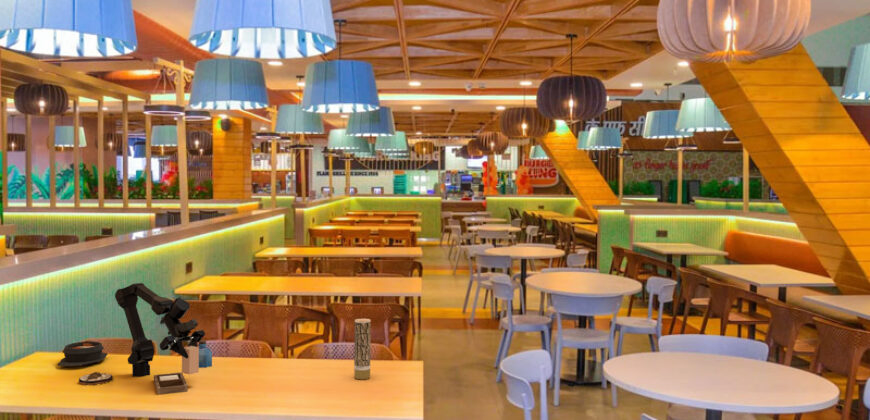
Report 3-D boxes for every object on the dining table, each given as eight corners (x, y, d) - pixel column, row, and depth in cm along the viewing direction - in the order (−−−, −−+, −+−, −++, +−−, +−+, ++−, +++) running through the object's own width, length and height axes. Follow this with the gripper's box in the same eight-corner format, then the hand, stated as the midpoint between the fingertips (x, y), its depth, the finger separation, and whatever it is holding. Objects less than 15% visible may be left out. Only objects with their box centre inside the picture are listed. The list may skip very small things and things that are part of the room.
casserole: (80, 355, 336) (80, 338, 335) (117, 357, 334) (117, 339, 333) (46, 369, 311) (46, 350, 310) (86, 371, 309) (86, 352, 309)
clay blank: (181, 372, 283) (182, 347, 283) (191, 370, 287) (191, 345, 286) (189, 374, 281) (189, 349, 280) (198, 372, 284) (198, 347, 284)
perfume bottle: (211, 366, 320) (212, 339, 320) (206, 369, 314) (206, 342, 313) (198, 365, 321) (198, 339, 320) (192, 369, 314) (192, 342, 314)
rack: (187, 393, 278) (187, 385, 278) (157, 396, 273) (157, 388, 273) (181, 379, 297) (181, 372, 297) (153, 382, 292) (153, 375, 292)
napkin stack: (160, 385, 285) (160, 381, 285) (159, 381, 291) (159, 376, 291) (179, 384, 288) (179, 379, 288) (177, 379, 294) (177, 374, 294)
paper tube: (367, 380, 299) (368, 321, 298) (352, 379, 301) (352, 321, 300) (372, 376, 306) (372, 319, 305) (357, 375, 307) (357, 318, 306)
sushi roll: (96, 389, 284) (96, 378, 284) (67, 385, 289) (67, 375, 288) (123, 379, 298) (123, 369, 298) (95, 376, 303) (95, 366, 302)
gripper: (164, 317, 277) (182, 349, 272) (202, 310, 293) (220, 340, 287) (151, 334, 281) (169, 366, 276) (189, 326, 297) (207, 356, 292)
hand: (192, 356), depth 283 cm, fingers closed on clay blank, 4 cm apart
